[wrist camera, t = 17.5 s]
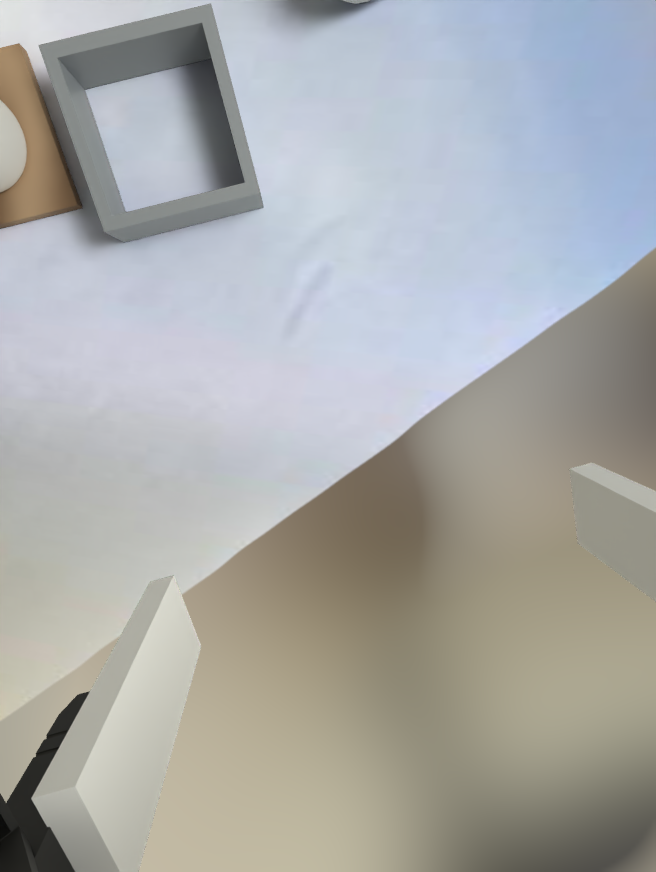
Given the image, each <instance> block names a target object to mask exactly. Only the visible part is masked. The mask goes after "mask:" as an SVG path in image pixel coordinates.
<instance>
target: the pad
mask: <svg viewBox="0 0 656 872" xmlns="http://www.w3.org/2000/svg"><path fill="white" fill-rule="evenodd" d="M0 100H1V101H2V102H3V103H4V104H5V105H6V106H7V107H8V108H9V109H10V111H11V112H12V113H13V114H14V116H15V117H16V119H17V121H18V122H19V124H20V126H21V129H22V131H23V134H24V137H25V141H26V148H27V158H26V164H25V168H24V171H23V173H22V175H21V177H20V178H19V179H18V181H17V182H16V183H15V184H14V185H13V186H12V187H10V188H9V189H7V190H5V191H3V192H0V229H1V228H5V227H9V226H13V225H17V224H21V223H25V222H29V221H33V220H37V219H41V218H45V217H49V216H53V215H57V214H61V213H65V212H69V211H73V210H77V209H81V208H82V205H81V202H80V199H79V196H78V194H77V191H76V188H75V185H74V183H73V180H72V177H71V174H70V171H69V169H68V166H67V163H66V160H65V157H64V155H63V152H62V149H61V146H60V143H59V141H58V138H57V135H56V132H55V130H54V127H53V124H52V121H51V118H50V116H49V113H48V110H47V107H46V104H45V102H44V99H43V96H42V93H41V91H40V88H39V85H38V82H37V79H36V77H35V74H34V71H33V68H32V65H31V63H30V60H29V57H28V54H27V51H26V50H25V49H24V48H23V47H22V46H21V45H20V44H15V45H11V46H6V47H2V48H0Z"/></svg>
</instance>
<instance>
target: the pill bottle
mask: <svg viewBox="0 0 656 872" xmlns="http://www.w3.org/2000/svg"><path fill="white" fill-rule="evenodd" d="M26 158H27V148H26V141H25V137H24V134H23V131H22V129H21V126H20V124H19V122H18V121H17V119H16V117H15V116H14V114H13V113H12V112H11V111H10V109H9V108H8V107H7V106H6V105H5V104H4V103H3V102H2V101H1V100H0V192H3V191H5V190H7V189H9V188H10V187H12V186H13V185H14V184H15V183H16V182H17V181H18V179H19V178H20V177H21V175H22V173H23V171H24V168H25V164H26Z"/></svg>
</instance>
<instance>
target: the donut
mask: <svg viewBox="0 0 656 872" xmlns="http://www.w3.org/2000/svg"><path fill="white" fill-rule="evenodd" d="M342 1H346V2H349V3H354V4H356V3H362V2H368V1H370V0H342Z"/></svg>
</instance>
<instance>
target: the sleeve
mask: <svg viewBox="0 0 656 872" xmlns="http://www.w3.org/2000/svg"><path fill="white" fill-rule="evenodd" d="M39 48H40V51H41V54H42V57H43V60H44V62H45V65H46V68H47V71H48V74H49V77H50V79H51V82H52V85H53V88H54V91H55V94H56V97H57V99H58V102H59V105H60V108H61V111H62V114H63V116H64V119H65V122H66V125H67V128H68V131H69V133H70V136H71V139H72V142H73V145H74V148H75V151H76V153H77V156H78V159H79V162H80V165H81V168H82V170H83V173H84V176H85V179H86V182H87V185H88V188H89V190H90V193H91V196H92V199H93V202H94V205H95V207H96V210H97V213H98V216H99V219H100V222H101V224H102V227H103V230H104V232H105V233H107V234H109V235H111V236H113V237H115V238H117V239H119V240H120V241H122V242H124V243H125V242H129V241H132V240H136V239H140V238H144V237H148V236H152V235H156V234H160V233H164V232H168V231H172V230H176V229H180V228H184V227H188V226H192V225H196V224H200V223H204V222H208V221H212V220H216V219H220V218H224V217H228V216H232V215H235V214H239V213H243V212H247V211H251V210H255V209H259V208H263V202H262V198H261V193H260V189H259V186H258V182H257V178H256V174H255V170H254V166H253V163H252V159H251V155H250V151H249V147H248V143H247V140H246V136H245V132H244V128H243V124H242V120H241V117H240V113H239V109H238V105H237V101H236V98H235V94H234V90H233V86H232V82H231V78H230V75H229V71H228V67H227V63H226V59H225V55H224V52H223V48H222V44H221V40H220V36H219V32H218V29H217V25H216V21H215V17H214V13H213V9H212V6H211V4H207V5H203V6H198V7H194V8H190V9H186V10H182V11H178V12H174V13H170V14H165V15H161V16H157V17H153V18H149V19H145V20H141V21H137V22H132V23H128V24H124V25H120V26H116V27H112V28H108V29H103V30H99V31H95V32H91V33H87V34H83V35H79V36H75V37H70V38H66V39H62V40H58V41H54V42H50V43H46V44H41V45H39ZM211 58H212V62H213V65H214V69H215V73H216V77H217V80H218V84H219V88H220V91H221V95H222V99H223V103H224V106H225V110H226V114H227V118H228V121H229V125H230V129H231V133H232V136H233V140H234V144H235V147H236V151H237V155H238V159H239V162H240V166H241V170H242V174H243V177H244V181H245V183H241V184H237V185H233V186H229V187H225V188H221V189H217V190H213V191H209V192H205V193H201V194H197V195H193V196H189V197H185V198H181V199H177V200H173V201H169V202H165V203H161V204H157V205H153V206H149V207H145V208H142V209H138V210H134V211H130V212H126V211H125V208H124V205H123V202H122V199H121V196H120V193H119V190H118V187H117V184H116V181H115V178H114V175H113V172H112V169H111V166H110V163H109V160H108V157H107V154H106V151H105V148H104V145H103V143H102V140H101V137H100V134H99V131H98V128H97V125H96V122H95V119H94V116H93V113H92V110H91V107H90V104H89V101H88V98H87V95H86V92H85V89H89V88H93V87H97V86H101V85H105V84H109V83H113V82H117V81H121V80H126V79H130V78H134V77H138V76H142V75H146V74H150V73H154V72H158V71H162V70H166V69H171V68H175V67H179V66H183V65H187V64H191V63H195V62H199V61H203V60H207V59H211Z"/></svg>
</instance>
